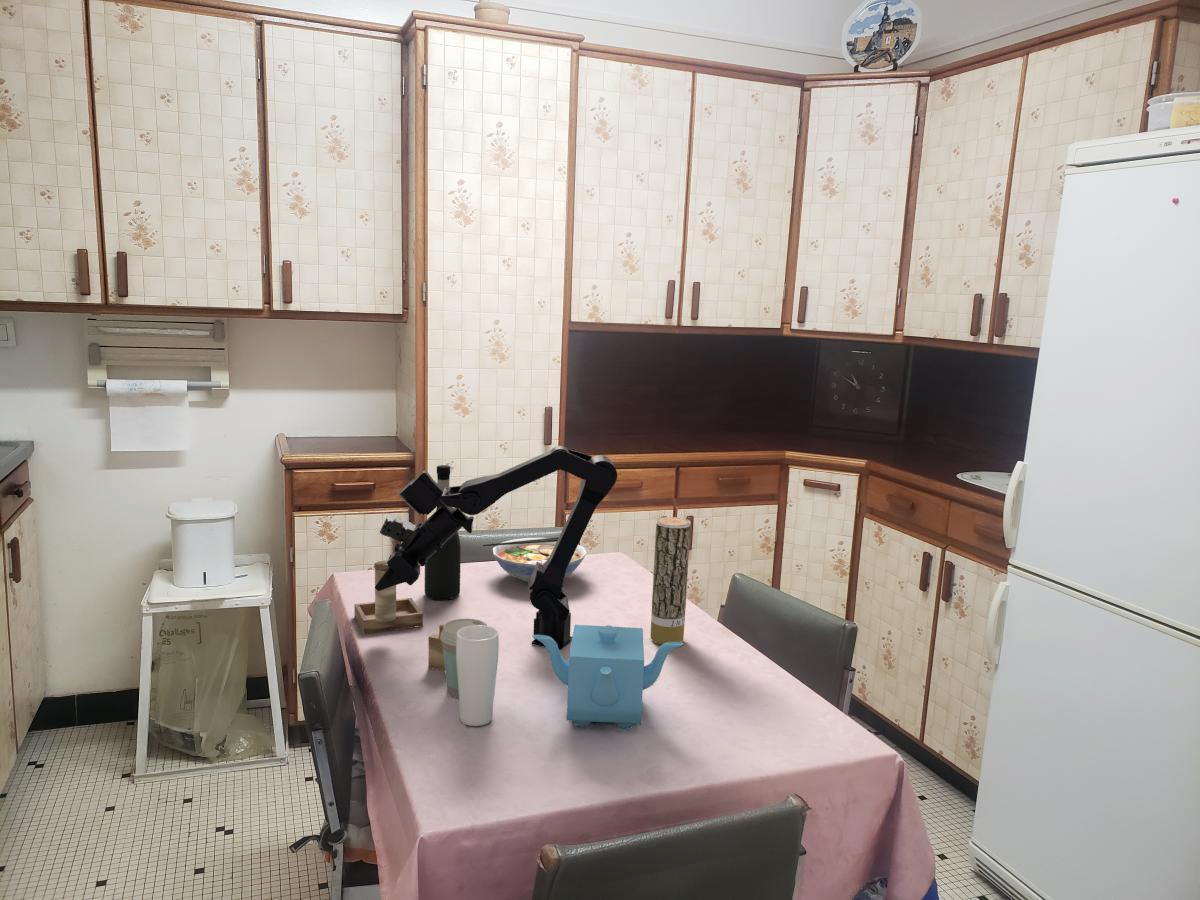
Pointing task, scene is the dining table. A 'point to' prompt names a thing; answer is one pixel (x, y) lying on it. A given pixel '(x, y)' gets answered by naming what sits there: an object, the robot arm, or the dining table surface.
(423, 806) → the dining table surface
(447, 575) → the wine bottle
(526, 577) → the ramen bowl
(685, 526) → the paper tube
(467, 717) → the drinking glass
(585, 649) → the teakettle
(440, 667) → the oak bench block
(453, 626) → the coffee cup
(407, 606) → the walnut tray
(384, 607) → the beech dowel
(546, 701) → the dining table surface
